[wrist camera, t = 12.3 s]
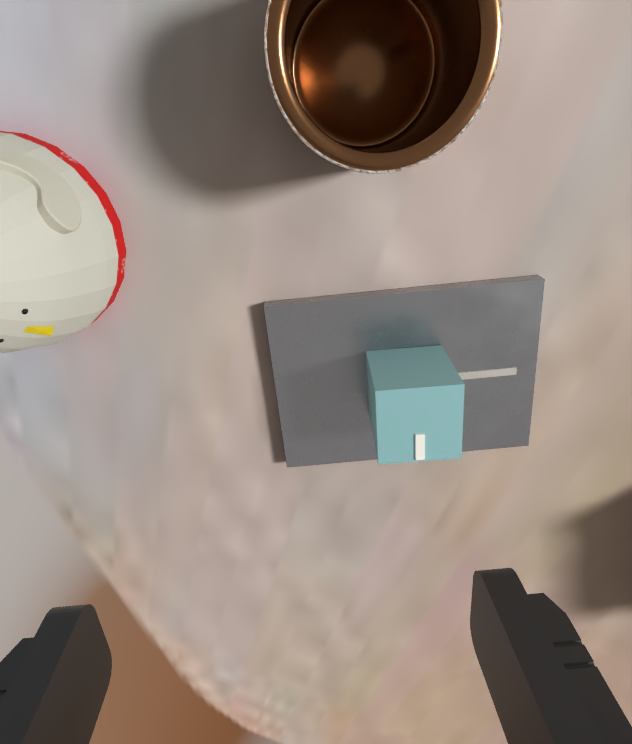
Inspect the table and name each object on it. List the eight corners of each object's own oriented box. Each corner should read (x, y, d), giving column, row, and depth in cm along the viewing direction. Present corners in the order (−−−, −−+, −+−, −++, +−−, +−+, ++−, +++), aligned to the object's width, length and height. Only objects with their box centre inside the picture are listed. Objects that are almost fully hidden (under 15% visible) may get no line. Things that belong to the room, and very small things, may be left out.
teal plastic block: (365, 351, 38) (375, 392, 32) (441, 345, 37) (465, 384, 31) (369, 416, 40) (378, 465, 34) (440, 410, 40) (462, 459, 34)
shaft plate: (287, 459, 43) (285, 502, 38) (264, 301, 37) (258, 328, 32) (522, 437, 43) (552, 479, 37) (537, 274, 37) (575, 297, 32)
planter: (305, 188, 34) (305, 205, 25) (248, 0, 30) (223, -57, 21) (464, 134, 33) (522, 133, 24) (429, -70, 28) (484, -162, 20)
